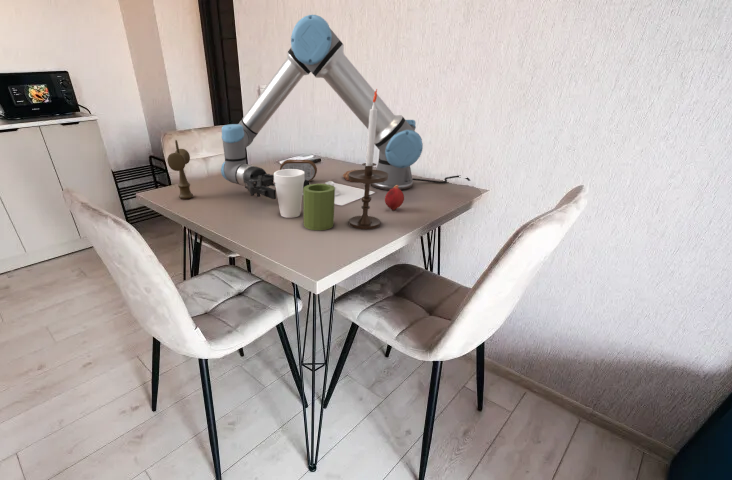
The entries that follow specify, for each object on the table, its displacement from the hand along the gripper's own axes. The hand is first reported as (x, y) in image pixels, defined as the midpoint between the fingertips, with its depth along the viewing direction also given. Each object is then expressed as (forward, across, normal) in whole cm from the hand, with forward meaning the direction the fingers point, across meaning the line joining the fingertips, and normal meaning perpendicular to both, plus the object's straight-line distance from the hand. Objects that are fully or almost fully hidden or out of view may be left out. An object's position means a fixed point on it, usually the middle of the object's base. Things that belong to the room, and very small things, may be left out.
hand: (292, 189), depth 114 cm
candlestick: (+21, -10, -8) cm, 24 cm away
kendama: (-42, +16, -8) cm, 46 cm away
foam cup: (-1, 0, -8) cm, 8 cm away
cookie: (-15, -47, -8) cm, 50 cm away
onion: (+19, -26, -8) cm, 33 cm away
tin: (-29, -28, -8) cm, 41 cm away
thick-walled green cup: (+12, 0, -8) cm, 14 cm away
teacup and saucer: (-6, -27, -8) cm, 29 cm away
